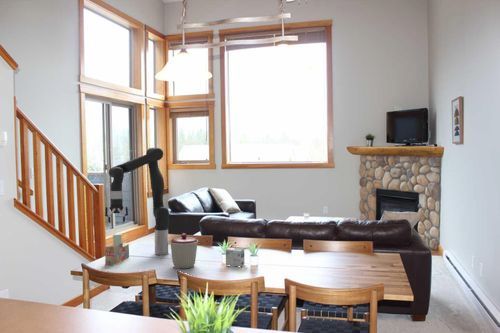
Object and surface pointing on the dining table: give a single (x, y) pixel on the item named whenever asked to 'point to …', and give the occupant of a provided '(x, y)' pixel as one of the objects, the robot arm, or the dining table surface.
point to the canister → (183, 251)
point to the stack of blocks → (116, 253)
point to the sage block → (117, 238)
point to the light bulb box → (235, 257)
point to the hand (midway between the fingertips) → (116, 222)
